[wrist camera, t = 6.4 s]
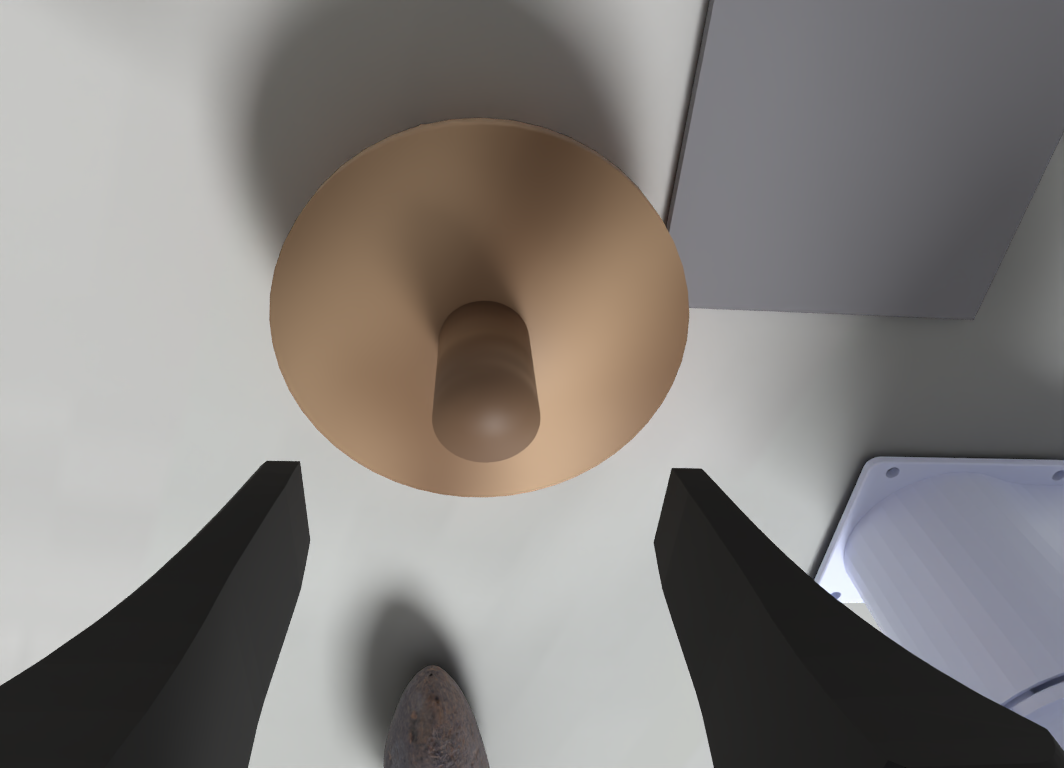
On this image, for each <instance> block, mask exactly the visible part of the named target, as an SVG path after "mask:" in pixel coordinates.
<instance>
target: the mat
mask: <svg viewBox="0 0 1064 768" xmlns="http://www.w3.org/2000/svg"><path fill="white" fill-rule="evenodd" d="M1063 132H1064V0H710V1H709V6H708V12H707V17H706V22H705V27H704V32H703V38H702V43H701V48H700V53H699V58H698V64H697V69H696V74H695V79H694V85H693V90H692V95H691V100H690V105H689V111H688V116H687V121H686V126H685V131H684V137H683V142H682V147H681V152H680V158H679V163H678V168H677V173H676V178H675V184H674V189H673V194H672V199H671V205H670V210H669V215H668V220H667V225H666V228H667V230H668V232H669V234H670V236H671V237H672V239H673V241H674V243H675V246H676V249H677V251H678V254H679V257H680V260H681V262H682V265H683V269H684V274H685V279H686V284H687V289H688V301H689V308H706V309H730V310H754V311H778V312H801V313H825V314H849V315H873V316H897V317H921V318H945V319H969V320H974V318H975V316H976V314H977V312H978V310H979V308H980V306H981V303H982V301H983V299H984V297H985V295H986V293H987V291H988V289H989V287H990V285H991V282H992V280H993V278H994V276H995V274H996V272H997V270H998V268H999V266H1000V264H1001V262H1002V259H1003V257H1004V255H1005V253H1006V251H1007V249H1008V247H1009V245H1010V243H1011V241H1012V238H1013V236H1014V234H1015V232H1016V230H1017V228H1018V226H1019V224H1020V222H1021V220H1022V218H1023V215H1024V213H1025V211H1026V209H1027V207H1028V205H1029V203H1030V201H1031V199H1032V197H1033V194H1034V192H1035V190H1036V188H1037V186H1038V184H1039V182H1040V180H1041V178H1042V176H1043V174H1044V171H1045V169H1046V167H1047V165H1048V163H1049V161H1050V159H1051V157H1052V155H1053V153H1054V151H1055V148H1056V146H1057V144H1058V142H1059V140H1060V138H1061V136H1062V134H1063Z"/></svg>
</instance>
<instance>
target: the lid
mask: <svg viewBox="0 0 1064 768" xmlns="http://www.w3.org/2000/svg"><path fill="white" fill-rule="evenodd" d="M269 320H270V327H271V335H272V343H273V347H274V351H275V354H276V358H277V361H278V365H279V368H280V370H281V373H282V375H283V377H284V379H285V382H286V384H287V386H288V388H289V391H290V392H291V394H292V395H293V397H294V399H295V400H296V402H297V403H298V405H299V407H300V408H301V410H302V411H303V413H304V414H305V415H306V416H307V417H308V419H309V420H310V421H311V422H312V424H313V425H314V426H315V427H316V429H317V430H318V431H320V432H321V433H322V434H323V435H324V436H325V437H326V438H327V439H328V440H329V441H330V442H331V443H332V444H333V445H334V446H335V447H337V448H338V449H339V450H341V451H342V452H343V453H345V454H346V455H347V456H349V457H350V458H351V459H353V460H354V461H356V462H358V463H359V464H361V465H363V466H364V467H366V468H368V469H370V470H371V471H373V472H375V473H377V474H379V475H382V476H384V477H386V478H388V479H390V480H393V481H395V482H398V483H401V484H404V485H407V486H410V487H413V488H416V489H420V490H424V491H429V492H433V493H438V494H444V495H452V496H461V497H496V496H509V495H515V494H521V493H526V492H532V491H536V490H539V489H543V488H546V487H550V486H553V485H556V484H559V483H561V482H564V481H566V480H569V479H571V478H574V477H576V476H578V475H580V474H582V473H584V472H586V471H588V470H590V469H591V468H593V467H595V466H597V465H599V464H600V463H602V462H603V461H604V460H606V459H607V458H609V457H610V456H612V455H613V454H615V453H616V452H617V451H619V450H620V449H621V448H622V447H623V446H625V445H626V444H627V443H628V442H629V441H630V440H632V439H633V438H634V437H635V436H636V435H637V433H638V432H639V431H640V430H641V429H642V428H643V427H644V426H645V425H646V424H647V423H648V422H649V420H650V419H651V418H652V416H653V415H654V414H655V412H656V411H657V409H658V408H659V407H660V405H661V404H662V402H663V401H664V399H665V397H666V395H667V393H668V392H669V390H670V388H671V386H672V384H673V382H674V380H675V377H676V375H677V372H678V369H679V367H680V364H681V362H682V358H683V353H684V349H685V345H686V341H687V334H688V323H689V301H688V289H687V284H686V279H685V274H684V269H683V265H682V262H681V260H680V257H679V254H678V251H677V249H676V246H675V243H674V241H673V239H672V237H671V236H670V234H669V232H668V230H667V228H666V226H665V224H664V223H663V221H662V219H661V218H660V216H659V215H658V213H657V212H656V210H655V209H654V208H653V206H652V205H651V204H650V202H649V201H648V200H647V198H646V197H645V196H644V194H643V193H642V192H641V190H640V189H639V188H638V187H637V186H636V185H635V184H634V183H633V182H632V181H631V180H630V179H629V178H628V177H627V176H626V175H625V174H624V173H623V172H622V171H621V170H620V169H619V168H618V167H617V166H615V165H614V164H613V163H611V162H610V161H608V160H607V159H606V158H604V157H603V156H602V155H600V154H599V153H598V152H596V151H595V150H593V149H591V148H589V147H587V146H585V145H584V144H582V143H580V142H578V141H576V140H574V139H572V138H571V137H568V136H565V135H563V134H560V133H557V132H555V131H552V130H549V129H547V128H544V127H541V126H536V125H532V124H527V123H523V122H518V121H514V120H504V119H492V118H466V119H450V120H445V121H440V122H435V123H429V124H424V125H420V126H417V127H414V128H411V129H408V130H405V131H402V132H400V133H397V134H394V135H391V136H389V137H387V138H385V139H383V140H381V141H379V142H378V143H376V144H374V145H372V146H370V147H368V148H366V149H364V150H363V151H361V152H360V153H359V154H357V155H356V156H354V157H353V158H352V159H350V160H349V161H347V162H346V163H345V164H343V165H342V166H341V167H340V168H339V169H338V170H336V171H335V172H334V173H333V174H332V175H331V176H330V177H329V178H328V179H327V180H326V181H325V182H324V183H323V184H322V185H321V186H320V187H319V189H318V190H317V191H316V193H315V194H314V195H313V197H312V198H311V199H310V201H309V202H308V203H307V205H306V206H305V207H304V209H303V210H302V212H301V213H300V215H299V216H298V218H297V219H296V221H295V223H294V225H293V227H292V229H291V230H290V232H289V234H288V236H287V238H286V240H285V242H284V244H283V246H282V249H281V252H280V255H279V258H278V261H277V264H276V266H275V270H274V275H273V281H272V286H271V292H270V319H269Z"/></svg>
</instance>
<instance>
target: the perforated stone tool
mask: <svg viewBox="0 0 1064 768" xmlns="http://www.w3.org/2000/svg"><path fill="white" fill-rule="evenodd" d="M384 768H490V767H489V763H488V759H487V755H486V752H485V749H484V745H483V742H482V738H481V735H480V733H479V729H478V726H477V723H476V720H475V717H474V715H473V713H472V710H471V708H470V706H469V703H468V702H467V699H466V698H465V696H464V694H463V693H462V691H461V689H460V688H459V686H458V685H457V683H456V682H455V681H454V680H453V679H452V678H451V676H450V675H449V674H448V673H447V672H446V671H445V670H443V669H442V668H440V667H439V666H435V665H429V666H426V667H424V668H423V669H422V670H420V671H419V672H418V673H416V674H415V676H414V677H413V678H412V680H411V681H410V682H409V684H408V685H407V686H406V688H405V690H404V691H403V693H402V696H401V698H400V700H399V702H398V705H397V707H396V709H395V712H394V715H393V718H392V721H391V724H390V728H389V732H388V736H387V741H386V746H385V754H384Z"/></svg>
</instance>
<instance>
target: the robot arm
mask: <svg viewBox="0 0 1064 768" xmlns="http://www.w3.org/2000/svg"><path fill="white" fill-rule="evenodd" d="M891 468H892V469H891ZM889 469H891V470H889ZM888 470H889V471H888ZM309 544H310V535H309V527H308V519H307V512H306V504H305V496H304V489H303V481H302V473H301V466H300V461H266V462H265V463H264V464H262V465H261V466H260V467H259V469H258V470H257V471H256V472H255V473H254V474H253V475H252V476H251V477H250V479H249V480H248V481H247V482H246V483H245V484H244V485H243V486H242V487H241V489H240V490H239V491H238V492H237V493H236V494H235V495H234V496H233V497H232V498H231V499H230V500H229V502H228V503H227V504H226V505H225V506H224V507H223V508H222V509H221V510H220V511H219V512H218V513H217V514H216V515H215V516H214V517H213V518H212V519H211V520H210V521H209V522H208V523H207V524H206V525H205V527H204V528H203V529H202V530H201V531H200V532H199V533H198V534H197V535H196V536H195V537H194V538H193V539H192V540H191V541H190V542H189V543H188V544H187V545H186V546H184V547H183V548H182V549H181V550H180V551H179V552H178V553H177V554H176V555H175V556H174V557H173V558H171V559H170V560H169V561H168V562H167V563H166V564H165V565H164V566H163V567H162V568H161V569H160V570H158V571H157V572H156V573H155V574H154V575H153V576H152V577H151V578H150V579H148V580H147V581H146V582H145V583H144V584H143V585H141V586H140V587H139V588H138V589H137V590H136V591H134V592H133V593H132V594H131V595H130V596H128V597H127V598H126V599H125V600H123V601H122V602H121V603H120V604H118V605H117V606H116V607H115V608H113V609H112V610H111V611H110V612H108V613H107V614H106V615H104V616H103V617H102V618H100V619H99V620H98V621H96V622H95V623H94V624H92V625H91V626H90V627H88V628H87V629H85V630H84V631H82V632H81V633H80V634H78V635H77V636H75V637H74V638H72V639H71V640H69V641H68V642H67V643H65V644H64V645H62V646H61V647H59V648H58V649H57V650H55V651H54V652H52V653H51V654H49V655H48V656H47V657H45V658H44V659H42V660H41V661H39V662H37V663H36V664H34V665H33V666H31V667H30V668H28V669H26V670H25V671H23V672H22V673H20V674H19V675H17V676H15V677H14V678H12V679H11V680H9V681H7V682H6V683H4V684H2V685H1V686H0V768H248V765H249V760H250V756H251V751H252V747H253V742H254V738H255V734H256V729H257V725H258V721H259V718H260V714H261V711H262V707H263V704H264V700H265V697H266V694H267V691H268V688H269V685H270V682H271V679H272V676H273V673H274V670H275V667H276V664H277V661H278V658H279V654H280V651H281V648H282V645H283V642H284V639H285V636H286V633H287V630H288V627H289V624H290V621H291V618H292V615H293V612H294V609H295V606H296V603H297V599H298V596H299V593H300V590H301V585H302V580H303V575H304V571H305V566H306V560H307V555H308V549H309ZM654 546H655V552H656V558H657V564H658V569H659V574H660V579H661V584H662V589H663V592H664V596H665V599H666V602H667V605H668V608H669V611H670V614H671V618H672V621H673V624H674V627H675V630H676V633H677V636H678V639H679V642H680V645H681V648H682V651H683V654H684V657H685V660H686V663H687V666H688V670H689V673H690V676H691V679H692V682H693V685H694V688H695V691H696V694H697V698H698V701H699V705H700V708H701V712H702V716H703V720H704V724H705V729H706V734H707V738H708V743H709V747H710V752H711V756H712V761H713V765H714V768H1064V460H1035V459H983V458H930V457H875V458H872V459H870V460H869V461H868V462H866V464H865V465H864V467H863V469H862V472H861V474H860V476H859V479H858V481H857V483H856V485H855V488H854V490H853V492H852V495H851V497H850V499H849V501H848V504H847V506H846V508H845V511H844V513H843V515H842V517H841V520H840V522H839V524H838V527H837V529H836V531H835V533H834V536H833V538H832V540H831V543H830V545H829V547H828V549H827V552H826V554H825V556H824V559H823V561H822V563H821V565H820V568H819V570H818V572H817V575H816V577H815V579H814V580H813V579H812V578H811V577H810V576H808V575H807V574H806V573H805V572H804V571H803V570H802V569H801V568H800V567H798V566H797V565H796V564H795V563H794V562H793V561H792V560H791V559H789V558H788V557H787V556H786V555H785V554H784V553H783V552H782V551H781V550H780V549H779V548H778V547H777V546H776V545H775V544H774V543H773V542H772V541H771V540H770V539H769V538H768V537H767V536H766V535H765V534H764V533H763V532H762V531H761V530H760V529H759V528H758V527H757V526H756V525H755V524H754V523H753V522H752V521H751V520H750V519H749V518H748V517H747V516H746V515H745V514H744V513H743V512H742V511H741V510H740V509H739V508H738V507H737V506H736V504H735V503H734V502H733V501H732V500H731V499H730V498H729V497H728V496H727V495H726V494H725V493H724V492H723V491H722V490H721V488H720V487H719V486H718V485H717V484H716V483H715V482H714V481H713V480H712V479H711V478H710V477H709V476H708V475H707V474H706V473H705V472H704V471H703V470H702V469H692V468H672V470H671V474H670V478H669V482H668V486H667V490H666V494H665V498H664V503H663V507H662V511H661V515H660V519H659V523H658V527H657V531H656V535H655V539H654ZM842 603H865V604H866V606H867V608H868V609H869V611H870V613H871V614H872V616H873V618H874V619H875V621H876V623H877V625H878V626H879V628H880V630H881V631H882V633H881V632H880V631H878V630H877V629H876V628H874V627H873V626H871V625H870V624H869V623H867V622H866V621H864V620H863V619H862V618H860V617H859V616H858V615H856V614H855V613H854V612H853V611H851V610H850V609H849V608H847V607H846V606H845V605H844V604H842Z"/></svg>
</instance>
